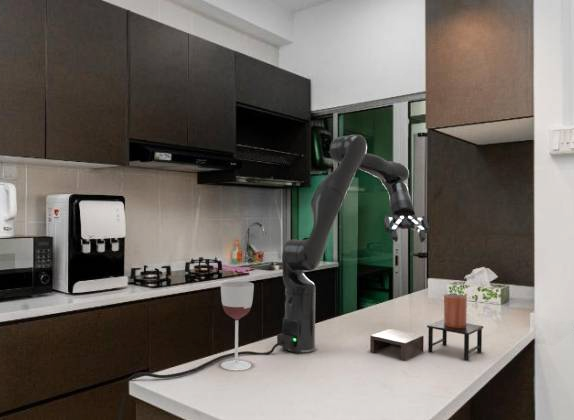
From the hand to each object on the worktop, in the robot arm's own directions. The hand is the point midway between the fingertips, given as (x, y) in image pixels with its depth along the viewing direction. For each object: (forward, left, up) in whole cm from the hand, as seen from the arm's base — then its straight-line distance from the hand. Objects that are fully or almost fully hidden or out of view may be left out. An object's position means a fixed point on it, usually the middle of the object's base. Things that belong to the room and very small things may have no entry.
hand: (409, 240), depth 159 cm
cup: (-5, -17, -25) cm, 30 cm away
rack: (-5, -17, -33) cm, 37 cm away
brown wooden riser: (-18, -5, -33) cm, 38 cm away
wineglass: (-62, +19, -33) cm, 73 cm away
